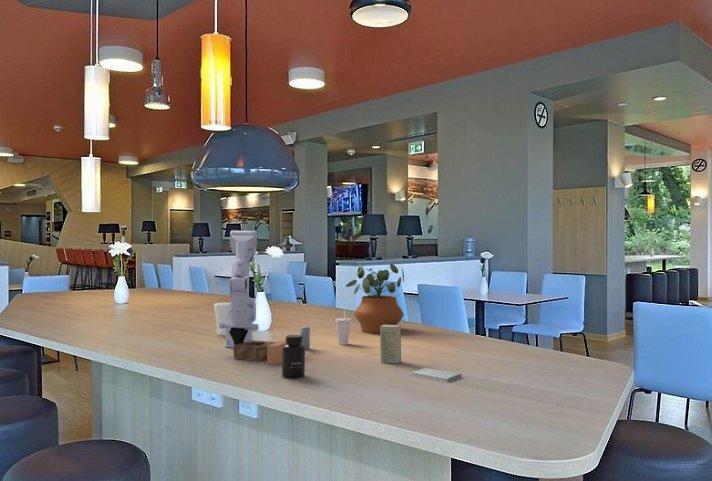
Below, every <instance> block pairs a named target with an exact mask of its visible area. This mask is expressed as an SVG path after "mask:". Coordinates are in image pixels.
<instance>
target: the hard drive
mask: <svg viewBox="0 0 712 481" xmlns="http://www.w3.org/2000/svg"><path fill="white" fill-rule="evenodd" d="M413 376H414V377H419V378H423V379H427V380H434V381H437V382H438V381H439V382H444V383H449V382H452V381H454V380H458V379H460V378H462V374H461V373H458V372H451V371H445V370H440V369H434V368H428V367H424V368H421V369H417V370H414V371H412V372H411V377H413Z"/></svg>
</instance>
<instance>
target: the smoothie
mask: <svg viewBox="0 0 712 481" xmlns="http://www.w3.org/2000/svg"><path fill="white" fill-rule="evenodd" d="M334 322H335V326H336V335H337V343H338V346H339V345H340V346H346V345H348V344H349V340H350V339H349V337H350V330H351V323H352V319H351V318H346V308H345V307H344V308H343V317H342V318H341V317H340V318H339V317H338V318H335V321H334Z"/></svg>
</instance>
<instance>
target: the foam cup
mask: <svg viewBox="0 0 712 481" xmlns="http://www.w3.org/2000/svg"><path fill="white" fill-rule="evenodd" d="M230 303H231V302H217V303H214V304H213V307H214V308H213V310H214V316H215V324H216V330H217V331H216V332H217V335H218V336H223V337H224V336H225V337H226V328H219V323H221V322H230V320H229V307H230Z"/></svg>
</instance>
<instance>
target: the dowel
mask: <svg viewBox="0 0 712 481" xmlns="http://www.w3.org/2000/svg"><path fill="white" fill-rule="evenodd" d="M299 329H300V331H299V332H300V333H299V335H301V336H302V343H301V344H302V345H304V347H305V351H306V350H307V351H308V350H310V347H311V346H310V345H311V344H310V343H311V341H310V340H311V339H310V338H311V337H310V336H311V334H310V333H311V332H310V331H311V328H310V326H301V327H299Z"/></svg>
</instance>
